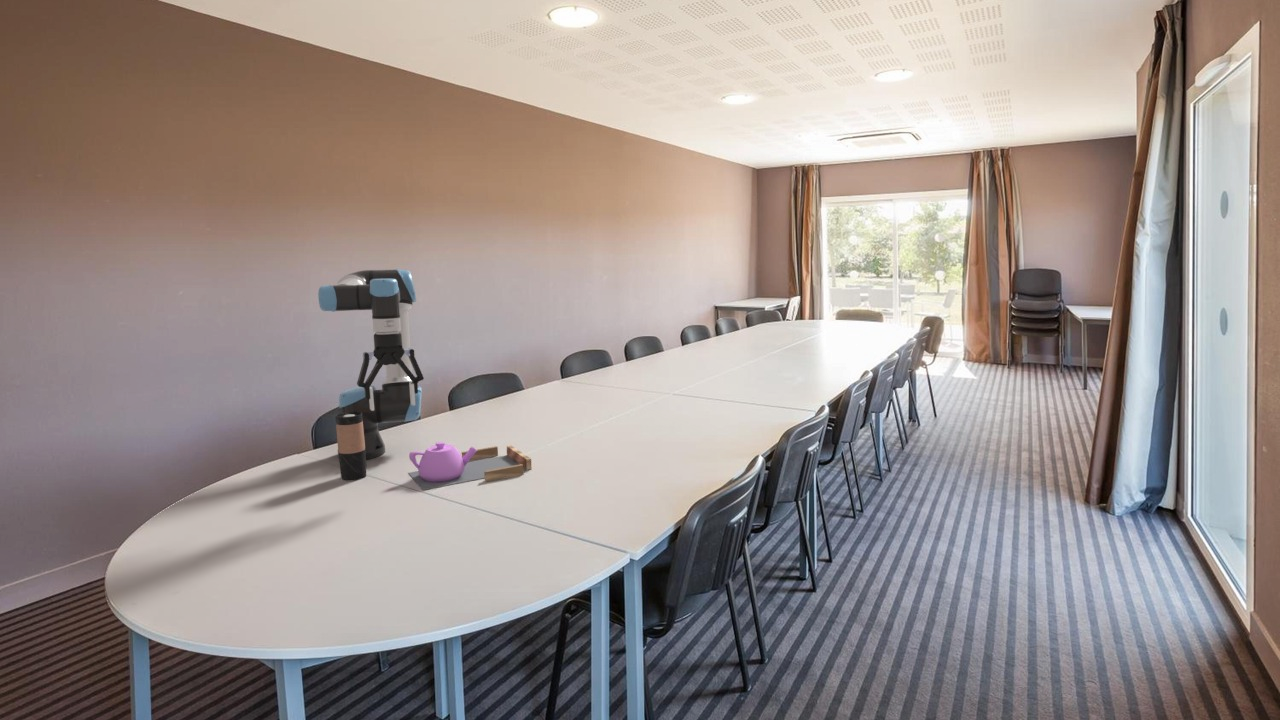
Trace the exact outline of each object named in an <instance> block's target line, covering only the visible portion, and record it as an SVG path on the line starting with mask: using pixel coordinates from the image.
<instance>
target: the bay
mask: <svg viewBox="0 0 1280 720" xmlns="http://www.w3.org/2000/svg"><path fill="white" fill-rule="evenodd" d="M498 449H499V447H498V446H497V445H495V446H490V447H484V448H477V449H476V450H477V451H476V453H475V454H474V455H473V456H472V458H471V459H470V460H469V461H468V462H471V461H476V460H482V459H488V458H493V457H499V451H498ZM467 452H468V450H465V451H461V456H462V458H463V457H464V456H465V454H466V453H467ZM506 455H508V456H509V457H510V458H512V459H513V460H515V461H516V462H517V463H519V464H520V465H514V466H509V467H504V468H498V469H493V470H488V471H484V474H485V478H484V481H485V482H486V483H488V482H492V481H493V482H494V481H496V480H502V479H507V478H511V477H517V476H522V475H524V471H523V467H524V468H526V469H530V470H532V466H533V465H532V458H531V457H529V456H528V455H527V454H525V453H523V452H522V451H520V450H519V449H518V448H516V447H514V446H513V445H511V444H510V445H506Z"/></svg>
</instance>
